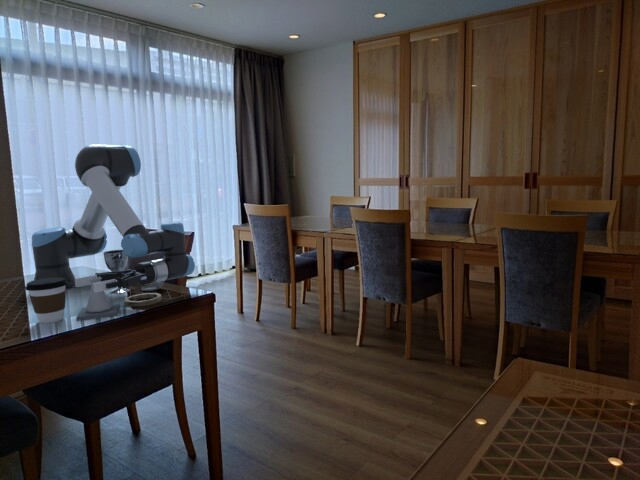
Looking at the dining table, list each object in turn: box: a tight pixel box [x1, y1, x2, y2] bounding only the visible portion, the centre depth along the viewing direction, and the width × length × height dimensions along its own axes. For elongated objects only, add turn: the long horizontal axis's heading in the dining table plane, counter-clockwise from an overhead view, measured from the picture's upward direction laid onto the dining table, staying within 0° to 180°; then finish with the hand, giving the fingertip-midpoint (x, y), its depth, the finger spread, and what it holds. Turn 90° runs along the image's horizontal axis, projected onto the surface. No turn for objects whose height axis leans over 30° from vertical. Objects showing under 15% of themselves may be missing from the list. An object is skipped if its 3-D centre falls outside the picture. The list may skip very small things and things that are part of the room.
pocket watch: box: [141, 281, 165, 292], centre depth 173 cm, size 8×8×10 cm
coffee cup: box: [24, 277, 68, 324], centre depth 140 cm, size 11×11×12 cm
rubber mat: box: [76, 302, 121, 321], centre depth 146 cm, size 11×11×1 cm
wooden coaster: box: [123, 292, 162, 308], centre depth 157 cm, size 11×11×2 cm
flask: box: [85, 277, 112, 313], centre depth 145 cm, size 7×7×10 cm
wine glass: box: [103, 249, 131, 295], centre depth 173 cm, size 8×8×15 cm
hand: (84, 285), depth 142 cm, fingers open, 12 cm apart
